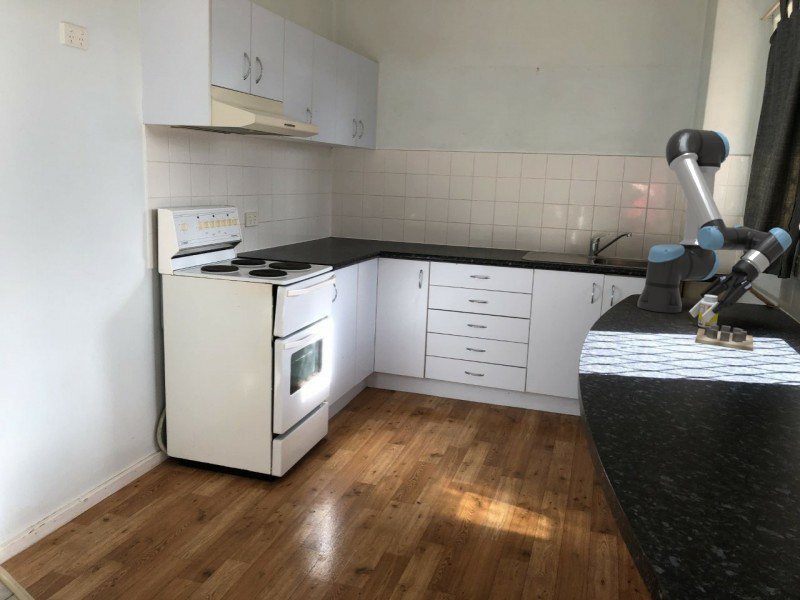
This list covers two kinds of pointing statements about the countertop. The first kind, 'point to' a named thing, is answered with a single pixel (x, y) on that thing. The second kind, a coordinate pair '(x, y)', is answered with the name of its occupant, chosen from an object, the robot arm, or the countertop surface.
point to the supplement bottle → (704, 306)
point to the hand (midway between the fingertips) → (698, 316)
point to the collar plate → (723, 343)
